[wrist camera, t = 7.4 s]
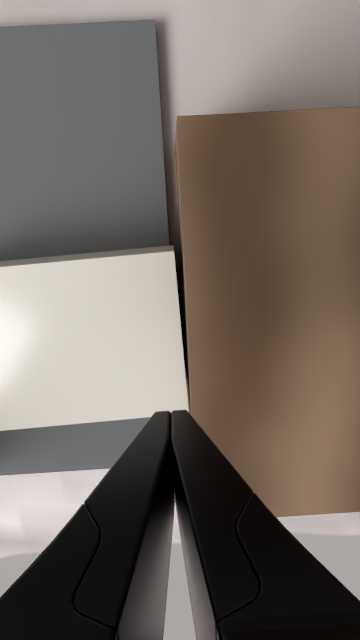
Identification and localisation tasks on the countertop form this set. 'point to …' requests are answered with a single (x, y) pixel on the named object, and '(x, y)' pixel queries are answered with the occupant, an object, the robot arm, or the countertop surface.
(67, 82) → the mat
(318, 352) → the brown flat block
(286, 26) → the countertop surface
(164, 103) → the countertop surface
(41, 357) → the tile
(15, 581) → the robot arm
